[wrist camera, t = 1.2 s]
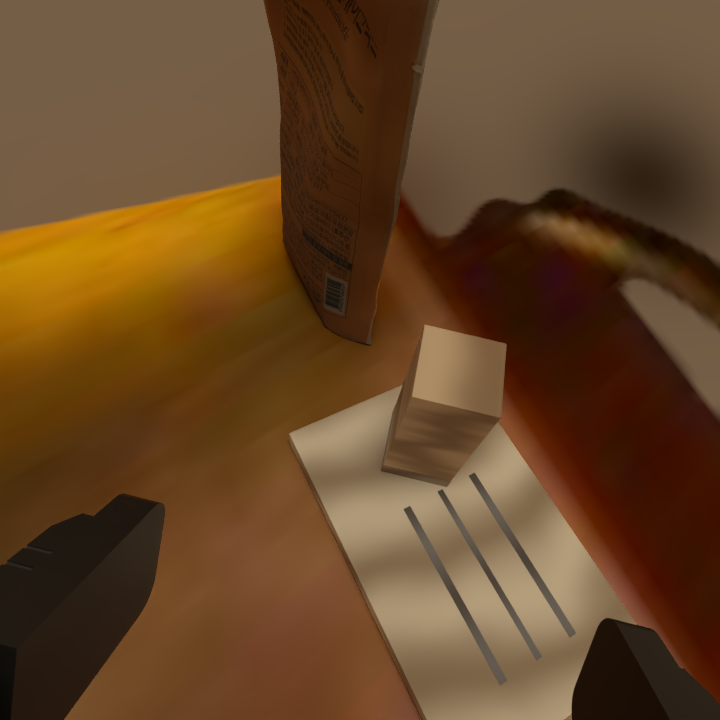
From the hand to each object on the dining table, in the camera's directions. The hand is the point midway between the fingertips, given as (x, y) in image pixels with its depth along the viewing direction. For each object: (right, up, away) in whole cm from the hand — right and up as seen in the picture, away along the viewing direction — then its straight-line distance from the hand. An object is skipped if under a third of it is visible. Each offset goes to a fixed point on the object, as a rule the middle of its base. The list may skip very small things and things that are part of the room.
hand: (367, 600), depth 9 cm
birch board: (+6, -8, +25) cm, 27 cm away
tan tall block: (+4, -2, +27) cm, 27 cm away
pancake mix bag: (-4, +12, +36) cm, 38 cm away
